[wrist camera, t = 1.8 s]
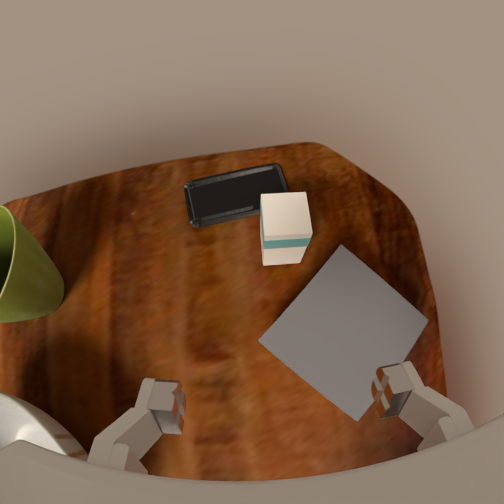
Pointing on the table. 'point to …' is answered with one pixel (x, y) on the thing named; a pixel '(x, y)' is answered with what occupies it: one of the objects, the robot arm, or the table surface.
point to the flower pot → (25, 274)
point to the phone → (231, 194)
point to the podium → (344, 331)
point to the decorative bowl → (35, 428)
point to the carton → (284, 227)
